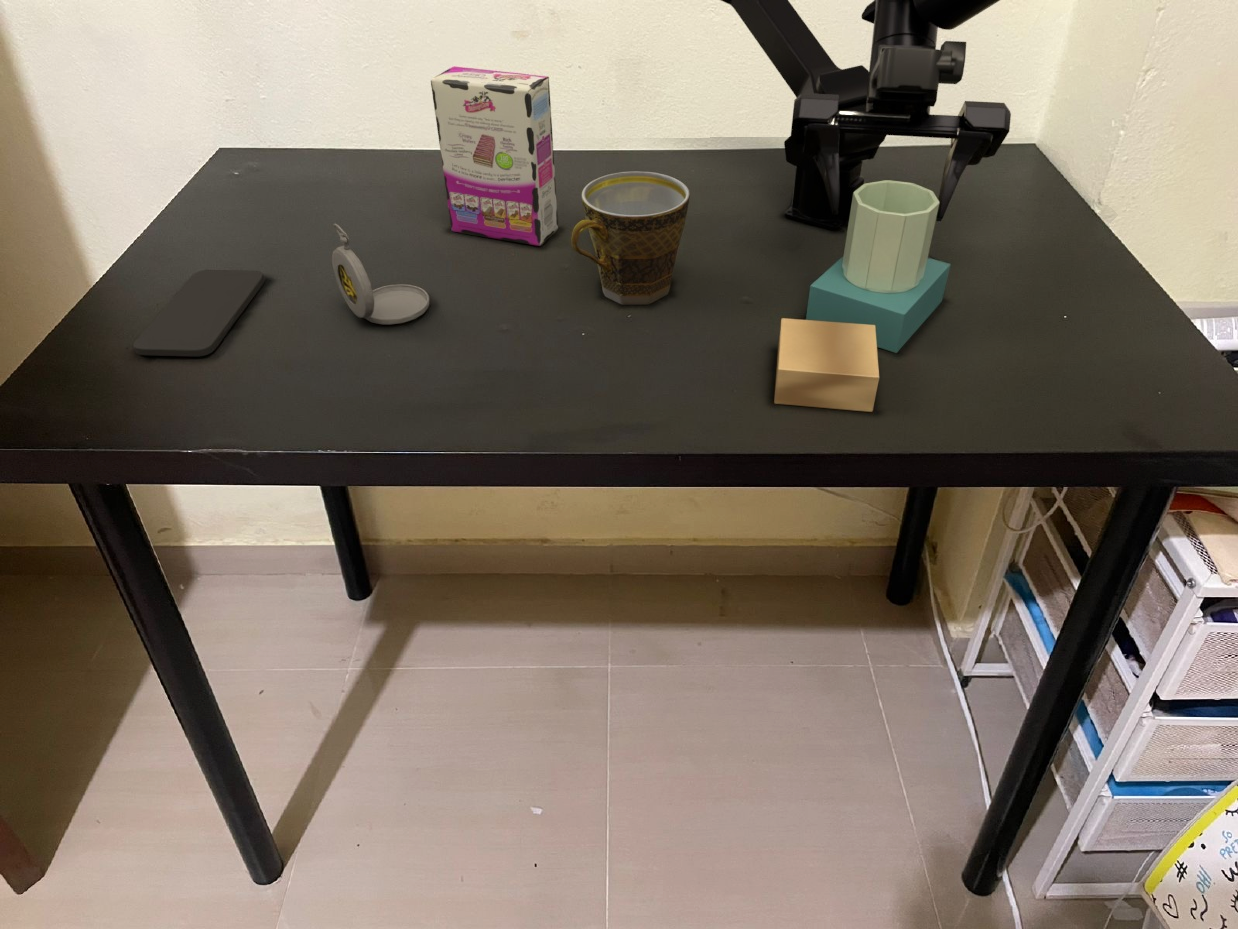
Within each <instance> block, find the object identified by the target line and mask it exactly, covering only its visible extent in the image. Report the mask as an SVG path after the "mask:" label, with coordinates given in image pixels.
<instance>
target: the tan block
mask: <svg viewBox="0 0 1238 929" xmlns="http://www.w3.org/2000/svg"><path fill="white" fill-rule="evenodd" d="M776 354H777V356H776V370H775V371H776V372H775V384H774V385H775V386H774V397H773V398H774V400H773V403H774V404H775V405H787V406H798V407H807V408H808V407H810V408H821V409H822V408H823V409H831V410H833V409H834V410H843V411H855V412H856V411H857V412H866V413H872V412H873V411H874V407H875V401H876V398H877V397H876V396H877V390H878V385H879V381H880V368H879V367H880V366H879V355H878V354H879V353H878V347H877V341H876V328H875V325H867V324H854V323H840V322H827V321H813V320H806V319H797V318H785V317H782V318H781V319H780V328H779V337H778V345H777V353H776Z"/></svg>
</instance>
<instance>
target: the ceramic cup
mask: <svg viewBox="0 0 1238 929" xmlns="http://www.w3.org/2000/svg"><path fill="white" fill-rule="evenodd" d="M690 197H691V192H690V190H689V188H688V186H687V185H686V184H685V183H684V182H682V181H681V180H679V179H677V178H675V177H672V176H670V175H667V174H663V173H658V172H651V171H622V172H616V173H611V174H606V175H604V176H601V177H598V178H596V179H593V180H592V181H590V182H589V183H588V184H586V185H585V186H584V188H583V189H582V191H581V201H582V202H581V203H582V207H583V213H584V218H585V219H582V220H580V221H579V222H577V223H576V224H575V226H574V227H573V229H572V233H571V239H570V240H571V242H570V243H571V246H572V248H573V250H574V251H575V252H576V253H577V254H579V255H581V256H584V257H585V258H588V259H589V260H591V261H592V262H593V263H594V264H596V265H597V268H598V273H599V277H600V278H599V279H600V284H601V287H602V293H603V295H604V297H605V298H608V299H609V300H612V301H614V302H615V303H617V304H619V305H623V306H628V305H629V306H633V305H635V306H637V305H638V306H639V305H643V306H644V305H647V306H648V305H651V304H652V303H654V302H656V301H658V300H660V299H662V298H664V297H666V296H668V294H669V293H670V288H671V284H672V279H673V273H674V269H675V263H676V260H677V255H678V252H679V251H678V250H679V245H680V241H681V238H682V235H683V232H684V228H685V224H686V220H687V214H688V210H689V203H690ZM587 229H588V232H589V233H588V234H589V236H590V240H591V243H592V246H593V250H594V254H595V255H593V254H592V253H590V252H587V251H585V250H583V249H581V248H580V247H579V245H578V240H579V237H580V235H581V234H582V232H583V231H585V230H587Z"/></svg>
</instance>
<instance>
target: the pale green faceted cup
mask: <svg viewBox="0 0 1238 929" xmlns="http://www.w3.org/2000/svg"><path fill="white" fill-rule="evenodd" d="M938 207H939V200H938V197H937V196H936V193H935V192H934V191H933V190H931V189H929V188H926V187H924V186H921V185H919V184H917V183H914V182H907V181H899V180H892V179H891V180H889V179H884V180H878V181H871V182H864V183H863V185H862V186H861V187H859V188H858V189H857V190H856V191H854V193H853V198H852V205H851V211H850V218H849V221H848V226H847V232H846V238H845V245H844V251H843V256H844V257H843V256H842V257H843V263H842V267H843V273H844V276H845V278H846V279H847V280H848V281H849V282H850V283H852V284H853V285H855V286H857V287H859V288H862V289H865V290H868V291H872V292H878V293H900V292H905V291H908V290H911V289H913V288H915V287H916V286H917V285H918V284H919V283H920V281H921V279H922V278H923V276H924V272H925V267H926V263H927V258H929V253H930V248H931V243H932V239H933V235H934V230H935V225H936V222H937V221H936V216H937V212H938Z"/></svg>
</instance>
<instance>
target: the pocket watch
mask: <svg viewBox="0 0 1238 929" xmlns="http://www.w3.org/2000/svg"><path fill="white" fill-rule="evenodd" d="M333 228H334V230H335V231H336V233H337V235H338V236H339V241H340V242H341V243H342V245H340V246H338V247H336V249H334V250H333V251H332V255H331V263H332V269H333V274H334V276H335V281H336V284H337V286H338V289H339V291H340V293H341V295H342V297H343V299H344V301H345V303H346V304H347V306H348V307H349V309H350V310H351V311H352V313H353V314H354V315H355V316H357V317H358V318H361V319H362V318H363V319H365V320H367V321H368V322H370V323H372V324H373V323H374V324H377V325H389V326H393V325H400V324H405V323H407V322H410V321H413V320H416V319H417V318H419V317H420V316H422V315H424V313H425V312H426V311H427V310H428V309H429V307H430V296H429V294H428V292H427V291H426V290H425V289H424V288H422V287H419V286H417V285H412V284H405V283H404V284H403V283H401V284H400V283H399V284H389V285H384V286H380V287H377V288H375V289H373V288H372V283H371V280H370V277H369V275H368V273H367V270H366V269H365V267H364V265H363V263H362V262H361V260H360V259H359V257H358V256H357V255H356V254H355V252H354V251H353V250H352V249H351V247H350V242H351V238H350V237H349V235H347V232H346V231H344V229H343V228H342V227H341V226H340V225H339V224H337V223H336V222H335V223H333Z"/></svg>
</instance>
